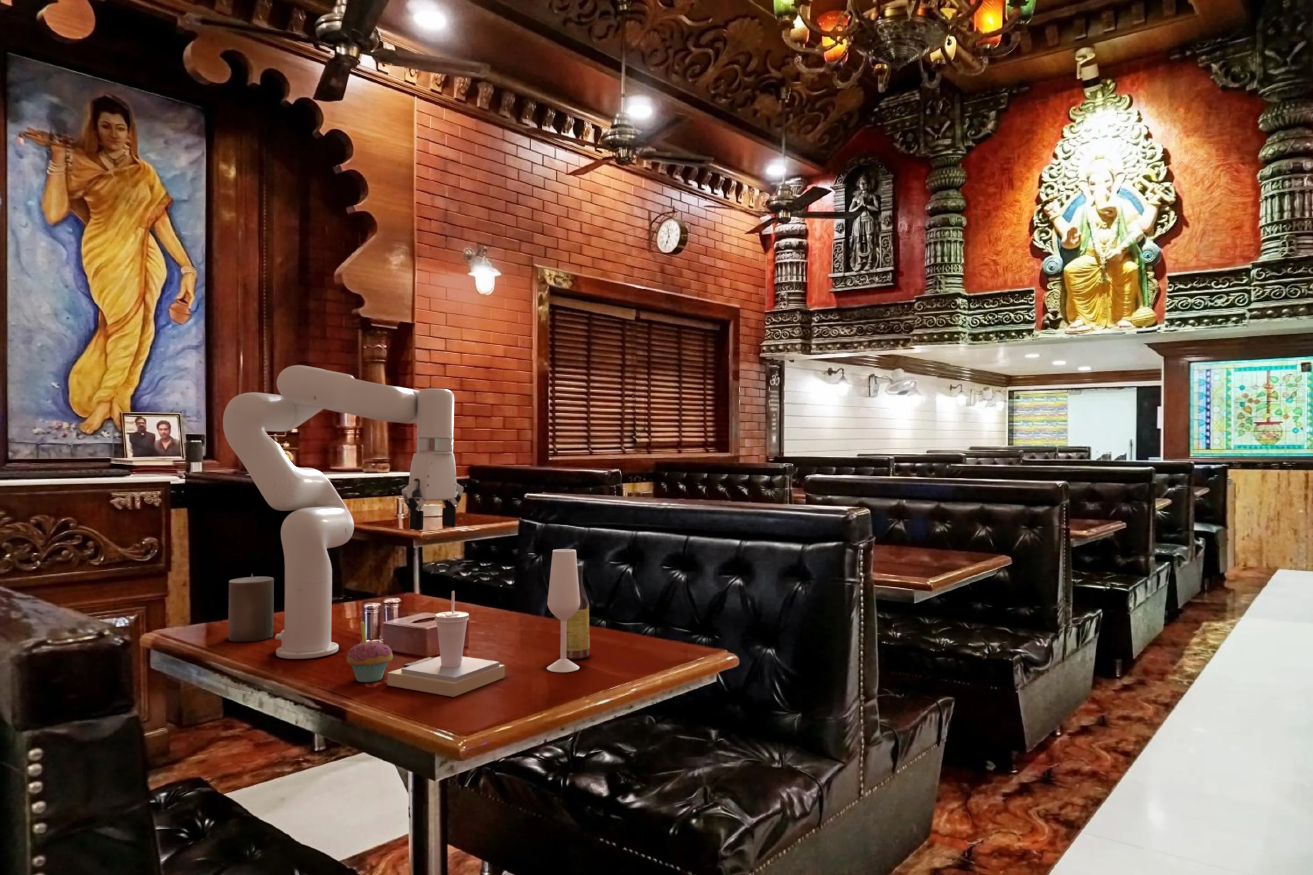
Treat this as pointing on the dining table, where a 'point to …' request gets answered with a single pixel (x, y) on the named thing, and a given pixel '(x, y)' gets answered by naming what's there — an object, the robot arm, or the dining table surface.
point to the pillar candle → (251, 609)
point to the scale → (446, 675)
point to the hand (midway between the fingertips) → (432, 527)
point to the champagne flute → (563, 599)
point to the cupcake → (369, 659)
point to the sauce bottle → (578, 626)
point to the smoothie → (451, 635)
